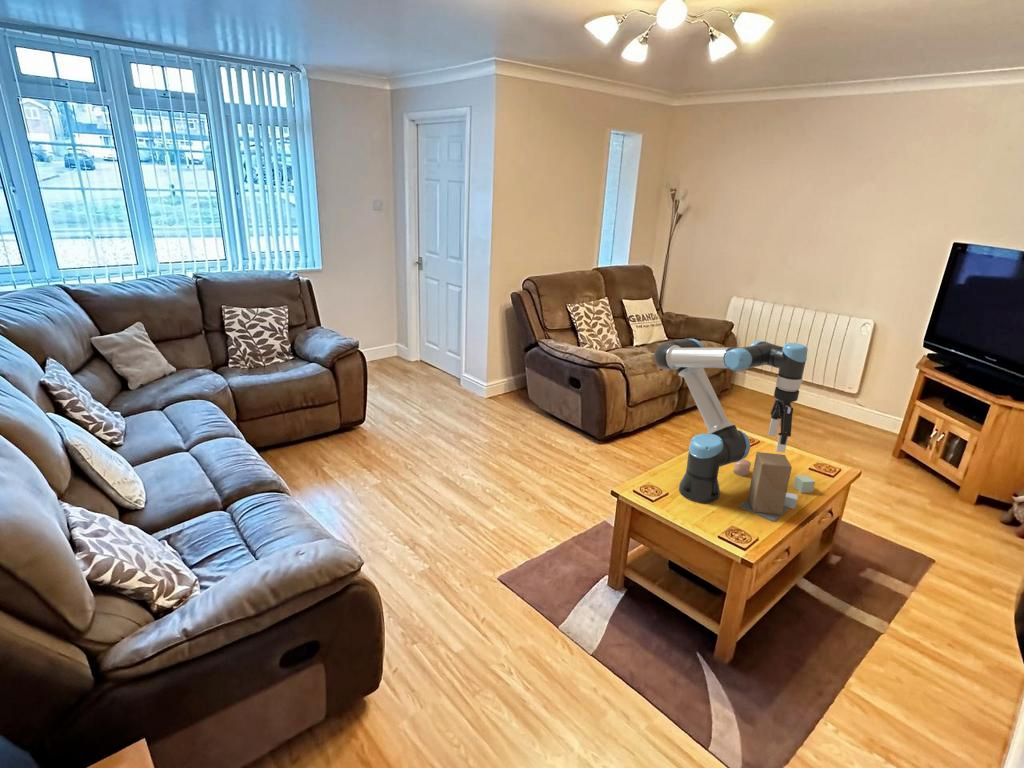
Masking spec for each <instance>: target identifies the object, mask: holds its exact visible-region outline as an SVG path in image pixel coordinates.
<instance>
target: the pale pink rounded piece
mask: <svg viewBox="0 0 1024 768" xmlns="http://www.w3.org/2000/svg"><path fill="white" fill-rule="evenodd" d="M751 465H752V463H751V461H749V460H747V459H745V458H744V459H742V460H740V461H738V462H734V469H733V473H734V474H735V475H737V476H740V477H748V476H749V475H750V471H751Z"/></svg>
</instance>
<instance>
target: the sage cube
mask: <svg viewBox="0 0 1024 768" xmlns="http://www.w3.org/2000/svg"><path fill="white" fill-rule="evenodd" d="M794 477H795V478H794V481H793V485H792V486H793V488H794V489H796V490H797V491H798V492H799V493H801V494H805V493H806V494H809V493H813V492H814V488H815V483H816V481H815V480H814V479H813V478H811V477H810V476H809V475H808V474H805V475H804V474H803V475H795V476H794Z"/></svg>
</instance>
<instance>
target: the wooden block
mask: <svg viewBox="0 0 1024 768" xmlns="http://www.w3.org/2000/svg"><path fill="white" fill-rule="evenodd" d="M791 474H792V465H791V464H790V462H789V460H788V458H787V456H786V454H783V453H772V452H771V453H770V452H761V451H756V454H755V458H754V465H753V470H752V474H751V480H750V485H749V490H748V491H749V492H748V497H747V499H749V502H750V504H751V507H752V510H753V511H754V512H761V513H769V514H777V515H781V514H782V510H783V506H784V501H785V497H786V492H788V486H789V482H790V477H791ZM781 516H782V515H781Z"/></svg>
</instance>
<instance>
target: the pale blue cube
mask: <svg viewBox="0 0 1024 768" xmlns="http://www.w3.org/2000/svg"><path fill="white" fill-rule="evenodd" d="M797 502H798V494H795V493H791V492H788V491H787V492H786V497H785V501H784V506H786V507H788V508H789V509H790V508H791V509H795V510H796V507H797V506H796V505H797Z"/></svg>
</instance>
